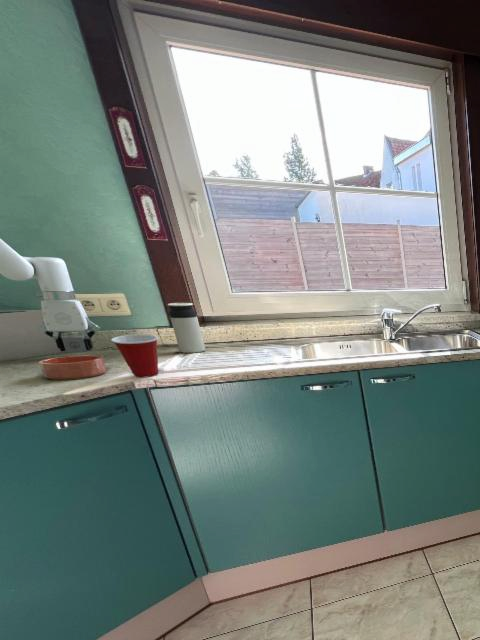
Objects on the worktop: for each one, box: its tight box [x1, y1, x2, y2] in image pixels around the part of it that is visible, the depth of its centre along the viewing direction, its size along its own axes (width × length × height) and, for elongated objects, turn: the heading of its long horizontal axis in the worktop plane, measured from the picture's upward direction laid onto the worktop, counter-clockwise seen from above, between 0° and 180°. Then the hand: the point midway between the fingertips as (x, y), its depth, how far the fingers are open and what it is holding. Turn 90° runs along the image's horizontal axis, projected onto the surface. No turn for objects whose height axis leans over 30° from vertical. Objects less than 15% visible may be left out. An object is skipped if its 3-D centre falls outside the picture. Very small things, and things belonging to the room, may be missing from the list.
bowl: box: [38, 354, 107, 381], centre depth 151 cm, size 14×14×5 cm
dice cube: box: [61, 335, 88, 354], centre depth 170 cm, size 5×5×5 cm
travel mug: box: [167, 302, 207, 354], centre depth 188 cm, size 8×8×18 cm
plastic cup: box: [110, 334, 159, 378], centre depth 153 cm, size 11×11×12 cm
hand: (76, 349), depth 171 cm, fingers closed on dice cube, 5 cm apart
